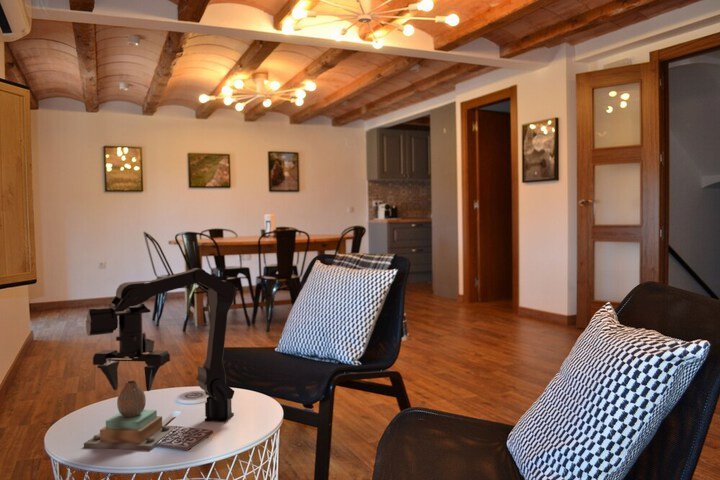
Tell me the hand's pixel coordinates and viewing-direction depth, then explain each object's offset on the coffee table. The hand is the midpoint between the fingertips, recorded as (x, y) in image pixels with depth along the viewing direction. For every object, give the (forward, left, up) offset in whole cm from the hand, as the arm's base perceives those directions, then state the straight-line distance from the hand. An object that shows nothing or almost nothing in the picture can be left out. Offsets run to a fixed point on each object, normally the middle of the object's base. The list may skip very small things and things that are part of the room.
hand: (132, 390), depth 146 cm
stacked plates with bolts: (0, 0, -12) cm, 12 cm away
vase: (0, 0, -7) cm, 7 cm away
